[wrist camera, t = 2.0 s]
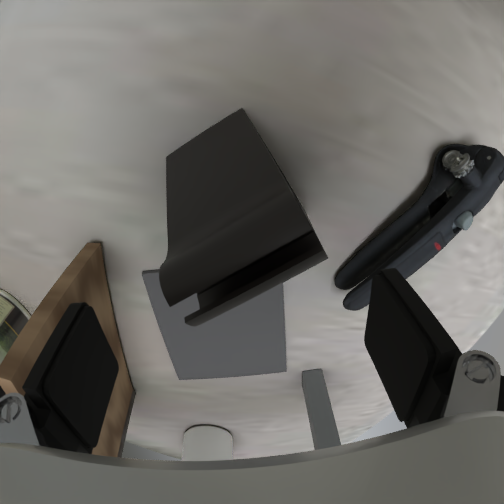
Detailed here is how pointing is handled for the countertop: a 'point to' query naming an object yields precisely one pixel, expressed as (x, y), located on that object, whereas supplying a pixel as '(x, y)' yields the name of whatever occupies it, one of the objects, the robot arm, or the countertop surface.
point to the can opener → (427, 219)
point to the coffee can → (10, 324)
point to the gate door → (43, 324)
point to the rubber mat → (222, 335)
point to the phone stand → (231, 221)
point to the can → (207, 444)
